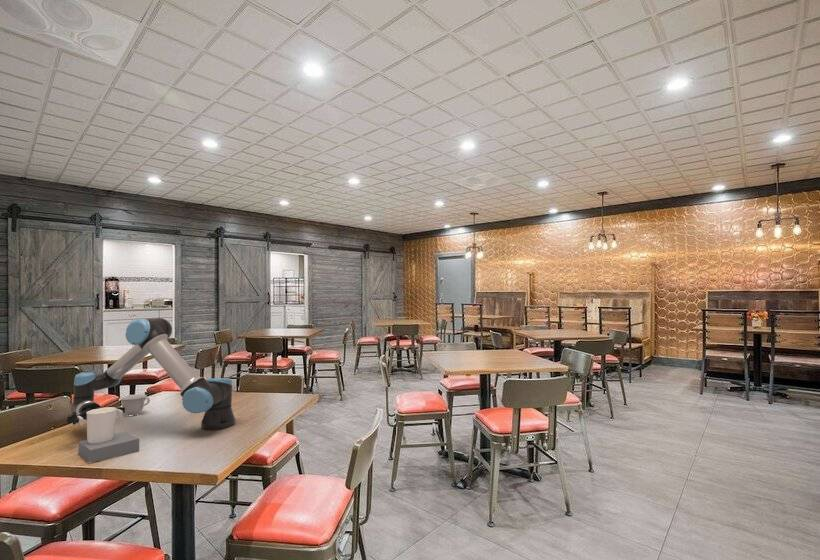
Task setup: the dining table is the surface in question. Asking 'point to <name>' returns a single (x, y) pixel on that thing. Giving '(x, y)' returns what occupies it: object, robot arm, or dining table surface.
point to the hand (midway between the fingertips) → (102, 418)
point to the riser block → (109, 447)
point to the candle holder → (101, 425)
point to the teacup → (134, 403)
